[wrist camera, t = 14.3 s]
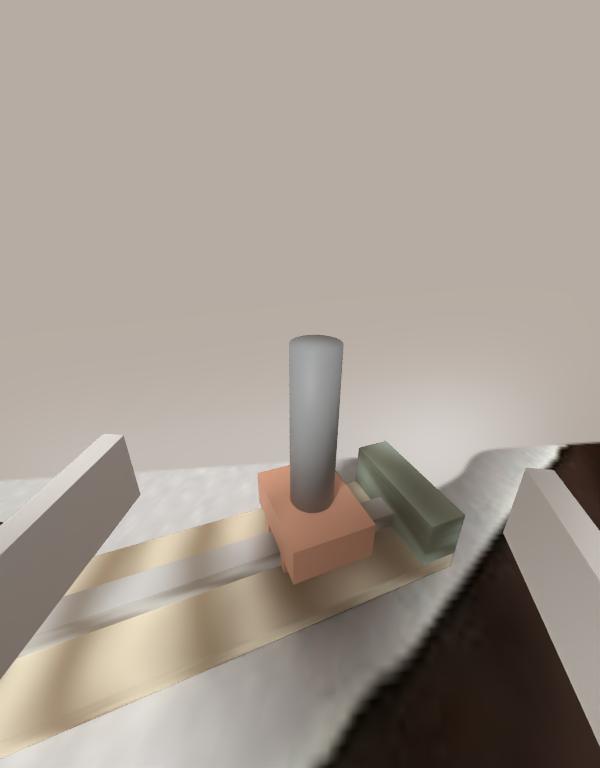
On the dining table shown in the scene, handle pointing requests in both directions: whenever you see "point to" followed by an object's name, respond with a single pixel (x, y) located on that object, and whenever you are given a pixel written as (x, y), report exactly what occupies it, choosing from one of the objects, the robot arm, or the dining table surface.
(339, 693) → the dining table surface
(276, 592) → the rail track
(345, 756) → the dining table surface
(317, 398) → the carriage
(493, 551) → the dining table surface
